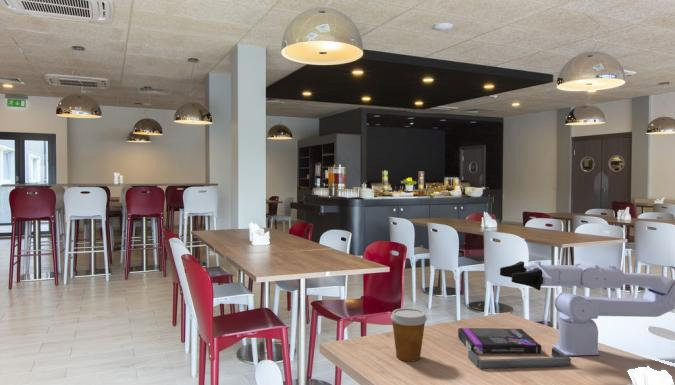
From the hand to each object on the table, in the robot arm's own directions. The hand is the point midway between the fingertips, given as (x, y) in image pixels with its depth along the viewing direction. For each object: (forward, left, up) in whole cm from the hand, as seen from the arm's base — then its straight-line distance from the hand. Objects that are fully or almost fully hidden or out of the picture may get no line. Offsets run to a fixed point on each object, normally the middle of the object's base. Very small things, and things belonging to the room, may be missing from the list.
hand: (506, 274), depth 131 cm
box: (0, -5, -22) cm, 23 cm away
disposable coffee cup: (+28, +2, -22) cm, 35 cm away
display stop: (0, +8, -22) cm, 23 cm away
